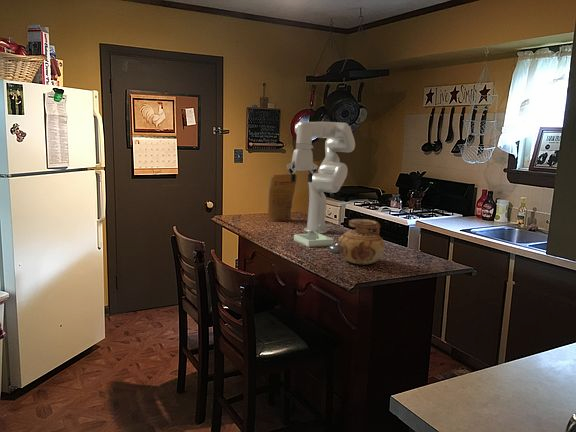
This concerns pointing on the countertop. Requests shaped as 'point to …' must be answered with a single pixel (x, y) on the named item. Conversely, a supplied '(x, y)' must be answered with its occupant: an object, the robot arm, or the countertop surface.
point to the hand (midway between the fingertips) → (301, 182)
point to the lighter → (313, 233)
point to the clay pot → (362, 242)
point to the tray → (319, 241)
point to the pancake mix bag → (280, 197)
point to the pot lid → (334, 248)
